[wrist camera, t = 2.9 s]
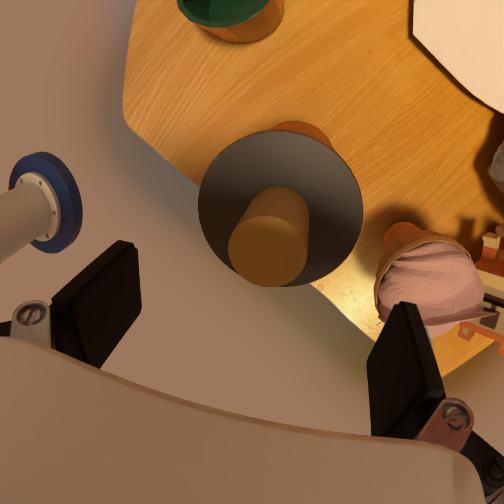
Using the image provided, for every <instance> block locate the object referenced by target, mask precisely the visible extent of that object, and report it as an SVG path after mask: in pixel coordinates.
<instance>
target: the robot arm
mask: <svg viewBox="0 0 504 504" xmlns="http://www.w3.org/2000/svg"><path fill="white" fill-rule="evenodd" d="M60 224H61V209H60V204H59V200H58V197H57V195H56V193H55V190H54V189H53V187H52V185H51V184H50V183H49V181H48V180H47V179H46V178H45V177H44V176H42V175H41V174H39V173H36V172H28V173H26V174H24V175H22V176H21V177H20V178H19V179H18V180H17V182H16V185H15V188H14V189H12V190H10V191H8V192H5V193H4V194H1V195H0V263H2V262H3V261H5V260H6V259H7V258H9V257H10V256H11V255H13V254H14V253H16V252H17V251H18V250H19V249H21V248H23V247H24V246H25V245H27V244H28V243H30V242H31V241H33V240H34V239H36V240H39V241H48V240H50V239H51V238H53V237H54V236H55V235H56V234H57V233H58V230H59V228H60ZM51 300H52V304H51V305H50V306H48V305H47V303H45V302H43V301H39V300H32V301H28V302H25V303H23V304H21V305H20V306H19V307H17V308H16V310H15V311H14V313H13V316H12V321H7V322H2V323H0V504H504V457H503V456H502V455H501V454H500V453H499V452H498V451H496V450H495V449H494V448H493V447H492V446H490V445H489V444H488V443H487V442H486V441H484V440H483V439H482V438H481V437H480V436H479V435H477V434H476V433H475V432H474V431H473V430H472V428H473V425H474V416H473V413H472V411H471V409H470V408H469V406H468V405H466V403H464V402H463V401H461V400H459V399H457V398H446V395H445V392H444V391H445V390H444V386H443V383H442V379H441V376H440V372H439V369H438V366H437V362H436V359H435V356H434V353H433V350H432V347H431V344H430V341H429V338H428V335H427V332H426V329H425V326H424V323H423V321H422V318H421V315H420V312H419V310H418V307H417V305H416V304H415V303H410V302H405V301H400V302H399V304H395V305H394V306H393V308H392V310H391V312H390V314H389V316H388V318H387V321H386V323H385V325H384V327H383V329H382V331H381V333H380V335H379V337H378V339H377V341H376V343H375V345H374V347H373V349H372V351H371V353H370V355H369V357H368V360H367V366H366V367H367V377H368V389H369V403H370V419H371V436H366V435H357V434H348V433H339V432H332V431H323V430H317V429H310V428H304V427H298V426H292V425H287V424H281V423H276V422H271V421H266V420H261V419H257V418H252V417H248V416H244V415H239V414H235V413H231V412H227V411H223V410H219V409H216V408H212V407H208V406H205V405H201V404H198V403H194V402H191V401H187V400H184V399H181V398H177V397H174V396H171V395H168V394H165V393H162V392H159V391H156V390H153V389H150V388H147V387H145V386H142V385H139V384H136V383H134V382H131V381H128V380H126V379H123V378H120V377H118V376H115V375H113V374H110V373H108V372H105V371H103V370H101V369H100V368H101V366H102V365H103V364H104V362H105V361H106V360H107V358H108V357H109V355H110V354H111V353H112V351H113V350H114V348H115V347H116V346H117V344H118V343H119V341H120V340H121V339H122V337H123V336H124V335H125V333H126V332H127V330H128V329H129V328H130V326H131V325H132V324H133V322H134V321H135V320H136V318H137V317H138V316H139V314H140V312H141V308H142V302H141V291H140V278H139V262H138V250H137V248H135V247H134V244H133V243H130V242H126V241H122V240H118V241H116V242H115V243H114V244H113V245H111V246H110V247H109V248H108V249H107V250H106V251H104V252H103V253H102V254H101V255H100V256H98V257H97V258H96V259H95V260H94V261H93V262H91V263H90V264H89V265H88V266H87V267H86V268H85V269H84V270H82V271H81V272H80V273H79V274H78V275H76V276H75V277H74V278H73V279H72V280H71V281H70V282H69V283H68V284H66V285H65V286H64V287H63V288H62V289H61V290H60V291H59V292H58V293H57V294H56V295H55V296H53V297H52V298H51Z"/></svg>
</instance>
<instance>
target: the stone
mask: <svg viewBox="0 0 504 504" xmlns="http://www.w3.org/2000/svg"><path fill="white" fill-rule="evenodd" d="M487 172H488V173H489V175H490V178H491V179H492V180H493V183H494V184H495V185H496V186H497V189H498V190H499V191H500V192H501V193H502V194H503V196H504V141H503V143H502V144H501V145H500V146H499V147H498V150H497V151H496V153H495V155H494V157H493V162H492V164H491V165H490V166H489V168H488V169H487Z"/></svg>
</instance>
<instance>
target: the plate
mask: <svg viewBox="0 0 504 504" xmlns="http://www.w3.org/2000/svg"><path fill="white" fill-rule="evenodd" d="M413 35H414V36H415V37H416V38H417V39H418V40H419V41H420V42H421V43H422V44H423V45H424V46H425V47H426V48H427V49H428V50H429V51H430V52H431V53H432V54H433V56H434V57H435V58H436V59H437V60H438V61H439V62H440V63H441V64H442V65H443V66H444V67H445V68H446V69H447V70H448V71H449V72H450V73H451V74H452V75H453V76H454V77H455V78H456V79H457V80H458V81H459V82H460V83H461V84H462V85H463V86H464V87H465V88H466V89H467V90H469V91H470V92H471V93H472V94H473V95H474V96H476V97H477V98H479V99H480V100H481V101H483V102H484V103H486V104H487V105H489V106H491V107H492V108H494V109H496V110H497V111H499V112H501V113H502V114H504V0H414V12H413Z"/></svg>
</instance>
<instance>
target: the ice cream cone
mask: <svg viewBox="0 0 504 504" xmlns="http://www.w3.org/2000/svg"><path fill="white" fill-rule="evenodd" d="M383 252H384V255H383V256H382V258H381V259H380V261H379V264H378V269H377V273H376V281H375V285H374V298H375V307H376V309H377V311H378V313H379V316H378V318H379V319H380V320H381V321H383V322H384V323H386V321H387V318H388V316H389V314H390V312H391V310H392V308H393V306H394V305H395V304H399V302H400V301H405V302H410V303H415V304H416V305H417V307H418V310H419V312H420V315H421V318H422V321H423V323H424V326H425V329H426V332H427V335H428V338H429V341H430V344H431V347H432V343H431V339H430V338H435V337H439V336H442V335H444V334H445V333H447V332H449V331H450V330H451V329H452V328H453V327H454V326H455V325H457V324H458V323H460V322H465V321H469V320H474V319H478V318H482V317H487V316H491V315H495V314H499V313H490V312H483V311H481V310H480V308H481V305H482V302H483V297H484V288H483V283H482V281H481V278H480V276H479V274H478V272H477V270H476V267H475V265H474V263H473V261H472V259H471V257H470V255H469V253H468V251H467V250H466V249H465V248H464V247H463V246H461V245H460V244H459V243H458V242H456V241H455V240H454V239H452V238H448V237H445V236H444V235H442V234H441V233H437V232H433V231H429V230H425V231H422V230H421V229H419V228H418V227H417V226H415V225H414V224H412V223H409V222H399V223H396V224H394V225H392V226H391V227H390V228H389V229H388V230H387V232H386V233H385V235H384V238H383ZM432 350H433V348H432ZM433 353H434V352H433Z"/></svg>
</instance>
